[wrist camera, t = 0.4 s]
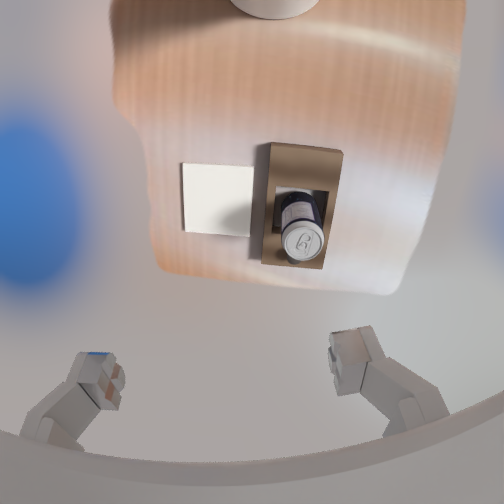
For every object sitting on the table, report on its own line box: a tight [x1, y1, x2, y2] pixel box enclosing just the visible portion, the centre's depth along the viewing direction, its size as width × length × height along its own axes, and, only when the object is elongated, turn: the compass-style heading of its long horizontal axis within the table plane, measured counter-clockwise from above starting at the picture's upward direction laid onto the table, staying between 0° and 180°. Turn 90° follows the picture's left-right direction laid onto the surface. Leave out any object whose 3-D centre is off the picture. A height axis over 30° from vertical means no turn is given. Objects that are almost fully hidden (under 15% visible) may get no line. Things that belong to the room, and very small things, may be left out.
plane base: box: [261, 142, 344, 269], centre depth 47 cm, size 20×10×4 cm, turn 177°
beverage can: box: [281, 192, 325, 261], centre depth 44 cm, size 6×6×12 cm
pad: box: [183, 162, 254, 237], centre depth 49 cm, size 12×11×1 cm
